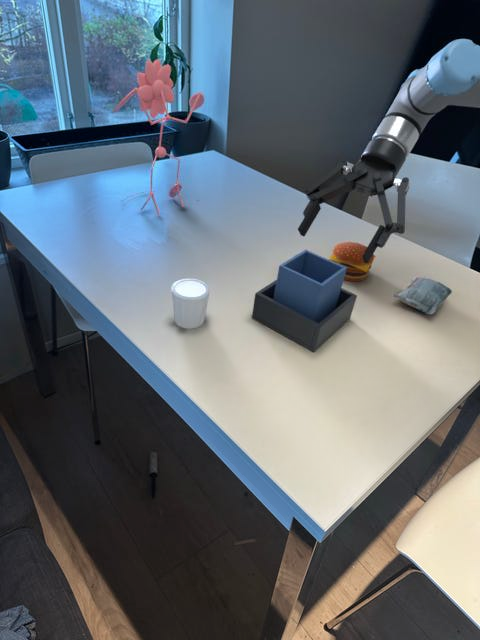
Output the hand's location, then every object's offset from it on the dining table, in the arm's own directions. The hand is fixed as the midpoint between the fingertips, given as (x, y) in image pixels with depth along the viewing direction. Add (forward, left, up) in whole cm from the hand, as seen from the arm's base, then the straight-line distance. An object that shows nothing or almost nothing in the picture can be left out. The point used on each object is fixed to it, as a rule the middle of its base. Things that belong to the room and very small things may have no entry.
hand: (331, 246), depth 83 cm
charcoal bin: (0, +6, -14) cm, 15 cm away
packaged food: (-15, -18, -14) cm, 28 cm away
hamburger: (+2, -18, -14) cm, 23 cm away
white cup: (+15, +22, -14) cm, 30 cm away
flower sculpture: (+58, -9, -14) cm, 60 cm away
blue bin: (0, +5, -13) cm, 14 cm away
